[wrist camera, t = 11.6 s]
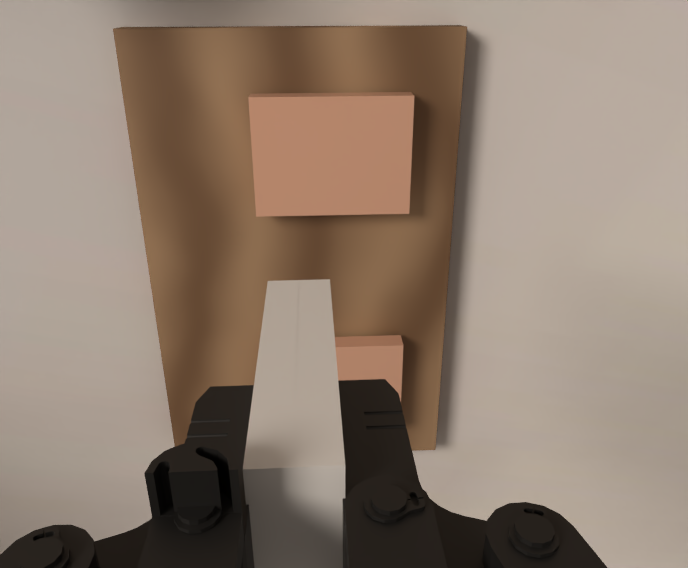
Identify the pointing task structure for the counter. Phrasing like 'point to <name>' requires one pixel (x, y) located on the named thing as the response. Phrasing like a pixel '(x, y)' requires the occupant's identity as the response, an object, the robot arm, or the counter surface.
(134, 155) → the board
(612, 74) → the counter surface
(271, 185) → the tile
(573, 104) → the counter surface
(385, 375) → the tile
